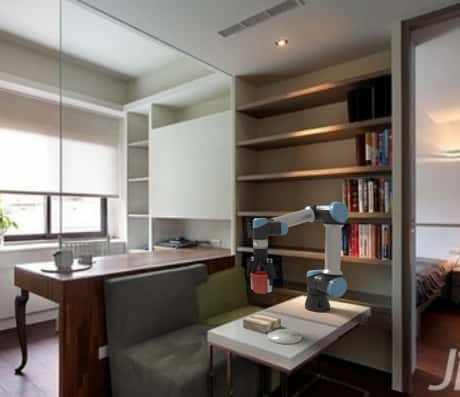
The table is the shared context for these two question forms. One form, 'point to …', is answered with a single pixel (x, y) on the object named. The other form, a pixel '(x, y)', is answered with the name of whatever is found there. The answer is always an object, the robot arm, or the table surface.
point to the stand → (262, 323)
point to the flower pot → (259, 282)
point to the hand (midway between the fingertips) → (261, 290)
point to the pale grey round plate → (284, 336)
